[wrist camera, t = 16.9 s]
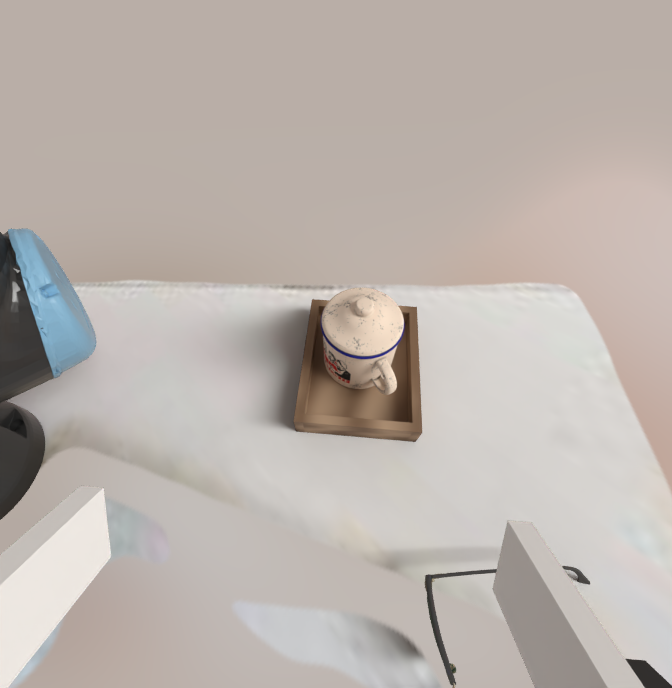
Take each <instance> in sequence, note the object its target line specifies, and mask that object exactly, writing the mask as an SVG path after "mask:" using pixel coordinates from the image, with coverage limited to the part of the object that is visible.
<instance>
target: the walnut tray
mask: <svg viewBox="0 0 672 688" xmlns="http://www.w3.org/2000/svg"><path fill="white" fill-rule="evenodd" d="M328 302H329V301H327V300H314V299H312V304H311V310H310V317H309V323H308V330H307V336H306V343H305V349H304V356H303V362H302V369H301V376H300V382H299V389H298V395H297V402H296V408H295V415H294V425H295V429H296V431H298V432H310V433H321V434H333V435H344V436H356V437H367V438H378V439H390V440H401V441H413V442H416V440H417V439H418V438H419V436H420V435H421V434H422V417H421V394H420V371H419V347H418V324H417V307H408V306H398V307H399V308H400V310H401V312H402V315H403V318H404V333H403V336H402V338H401V340H400V342H399V344H398V345H397V348H396V351H395V354H394V358H393V361H392V364H391V368H392V370H393V372H394V374H395V377H396V381H397V388H396V390H395V391H394V392H393V393H391V394H389V395H384V394H382V393H381V392H380V391H379V390H378V389H377V388H376V387H375V386H372V387H369V388H365V389H353V388H349V387H346V386H343V385H341V384H339V383H338V382H336V381H335V380H334V379H333V378H332V377H331V376H330V374H329V373H328V371H327V369H326V367H325V363H324V344H323V333H322V330H321V315H322V312H323V310H324V308H325V306H326V305H327V303H328ZM383 380H384V379H383Z"/></svg>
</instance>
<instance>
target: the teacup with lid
mask: <svg viewBox="0 0 672 688" xmlns="http://www.w3.org/2000/svg"><path fill="white" fill-rule="evenodd" d="M321 330H322V333H323V344H324V363H325V367H326V369H327V371H328V373H329V374H330V376H331V377H332V378H333V379H334V380H335V381H336V382H338V383H339V384H341V385H343V386H346V387H349V388H353V389H365V388H369V387H372V386H375V387H376V388H377V389H378V390H379V391H380V392H381V393H382V394H384V395H389V394H391V393H393V392H394V391H395V390H396V388H397V381H396V377H395V374H394V372H393V370H392V368H391V364H392V361H393V358H394V354H395V351H396V348H397V345H398V344H399V342H400V340H401V338H402V336H403V333H404V318H403V315H402V312H401V310H400V308H399V307H398V305H397V304H396V303H395V302H394V301H393V300H392V299H391V298H390V297H389V296H387V295H386V294H384V293H382V292H380V291H377V290H374V289H370V288H352V289H348V290H345V291H343V292H340V293H339V294H337V295H336V296H334V297H333V298H332V299H331V300H330V301H329V302H328V303H327V305H326V306H325V308H324V310H323V312H322V315H321ZM383 379H384V380H383Z"/></svg>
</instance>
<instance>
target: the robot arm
mask: <svg viewBox="0 0 672 688" xmlns="http://www.w3.org/2000/svg"><path fill="white" fill-rule="evenodd" d="M95 347H96V336H95V332H94V329H93V327H92V324H91V322H90V319H89V317H88V315H87V313H86V311H85V309H84V307H83V305H82V303H81V301H80V299H79V297H78V295H77V294H76V292H75V290H74V288H73V286H72V285H71V283H70V281H69V279H68V278H67V276H66V274H65V273H64V272H63V270H62V268H61V266H60V265H59V263H58V262H57V260H56V259H55V257H54V256H53V254H52V253H51V251H50V250H49V249H48V247H47V246H46V245H45V243H44V242H43V241H42V240H41V239H40V238H39V237H38V236H37V235H36V234H35V233H34V232H33V231H31V230H29V229H9V230H8V231H7V232H6V233H5V234H2V233H1V232H0V520H1V519H2V518H3V517H4V516H5V515H6V514H7V513H8V512H9V511H10V510H12V509H13V508H14V506H15V505H16V504H17V503H18V502H19V501H20V500H21V499H22V497H23V496H24V495H25V493H26V492H27V490H28V489H29V488H30V486H31V484H32V483H33V481H34V479H35V477H36V475H37V473H38V471H39V469H40V466H41V463H42V460H43V456H44V450H45V437H44V432H43V429H42V426H41V424H40V422H39V421H38V420H37V418H36V417H35V416H34V415H33V414H32V413H30V412H29V411H27V410H25V409H23V408H21V407H19V406H17V405H15V404H12V403H10V402H7V401H6V400H8V399H10V398H12V397H14V396H16V395H19V394H21V393H23V392H25V391H27V390H29V389H31V388H33V387H36V386H38V385H40V384H42V383H44V382H46V381H48V380H50V379H53V378H56V377H59V376H60V375H61V373H62V372H64V371H66V370H68V369H69V368H71V367H73V366H75V365H77V364H78V363H80V362H82V361H84V360H86V359H87V358H88V357H89V356H90V355H91V354H92V353H93V351H94V349H95ZM110 557H111V550H110V541H109V532H108V523H107V514H106V505H105V496H104V488H103V487H91V486H79V487H78V488H77V489H76V490H75V491H74V492H72V493H71V494H70V495H69V496H68V497H67V498H65V499H64V500H63V501H62V502H61V503H60V504H59V505H57V506H56V507H55V508H54V509H53V510H51V511H50V512H49V513H48V514H47V515H46V516H45V517H43V518H42V519H41V520H40V521H39V522H38V523H36V524H35V525H34V526H33V527H32V528H31V529H29V530H28V531H27V532H26V533H25V534H24V535H22V536H21V537H20V538H19V539H18V540H17V541H15V542H14V543H13V544H12V545H11V546H10V547H9V548H7V549H6V550H5V551H4V552H3V553H1V554H0V688H8V687H9V686H10V684H11V683H12V682H13V680H14V679H15V678H16V677H17V675H18V674H19V673H20V672H21V670H22V669H23V668H24V667H25V665H26V664H27V663H28V661H29V660H30V659H31V658H32V656H33V655H34V654H35V653H36V651H37V650H38V649H39V647H40V646H41V645H42V644H43V642H44V641H45V640H46V639H47V637H48V636H49V635H50V634H51V632H52V631H53V630H54V628H55V627H56V626H57V625H58V623H59V622H60V621H61V620H62V618H63V617H64V616H65V615H66V613H67V612H68V611H69V609H70V608H71V607H72V606H73V604H74V603H75V602H76V601H77V599H78V598H79V597H80V595H81V594H82V593H83V592H84V590H85V589H86V588H87V587H88V585H89V584H90V583H91V581H92V580H93V579H94V578H95V576H96V575H97V574H98V573H99V571H100V570H101V569H102V568H103V566H104V565H105V564H106V563H107V561H108V560H109V559H110ZM493 591H494V594H495V596H496V598H497V601H498V603H499V605H500V607H501V610H502V612H503V614H504V617H505V619H506V621H507V624H508V626H509V628H510V631H511V633H512V635H513V637H514V640H515V642H516V645H517V647H518V649H519V652H520V654H521V656H522V659H523V661H524V663H525V666H526V668H527V670H528V673H529V675H530V677H531V680H532V682H533V684H534V687H535V688H672V686H671V685H670V684H669V683H668V682H667V681H666V680H665V679H664V678H663V677H662V676H661V675H660V674H659V673H658V672H657V671H655V670H654V669H653V668H652V667H651V666H650V665H649V664H648V663H647V662H646V661H643V660H632V659H625V658H624V656H623V655H622V654H621V652H620V651H619V649H618V648H617V646H616V645H615V643H614V642H613V640H612V639H611V637H610V636H609V635H608V633H607V632H606V630H605V629H604V627H603V626H602V624H601V623H600V621H599V620H598V618H597V617H596V616H595V614H594V613H593V611H592V610H591V608H590V607H589V605H588V604H587V602H586V601H585V599H584V598H583V597H582V595H581V594H580V592H579V591H578V589H577V588H576V586H575V585H574V583H573V582H572V580H571V579H570V578H569V576H568V575H567V573H566V572H565V570H564V569H563V567H562V566H561V564H560V563H559V561H558V560H557V559H556V557H555V556H554V554H553V553H552V551H551V550H550V548H549V547H548V545H547V544H546V542H545V541H544V540H543V538H542V537H541V535H540V534H539V532H538V531H537V529H536V528H535V526H534V525H533V523H532V522H520V521H508V522H507V526H506V531H505V535H504V540H503V544H502V549H501V553H500V558H499V562H498V567H497V571H496V576H495V580H494V585H493Z"/></svg>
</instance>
